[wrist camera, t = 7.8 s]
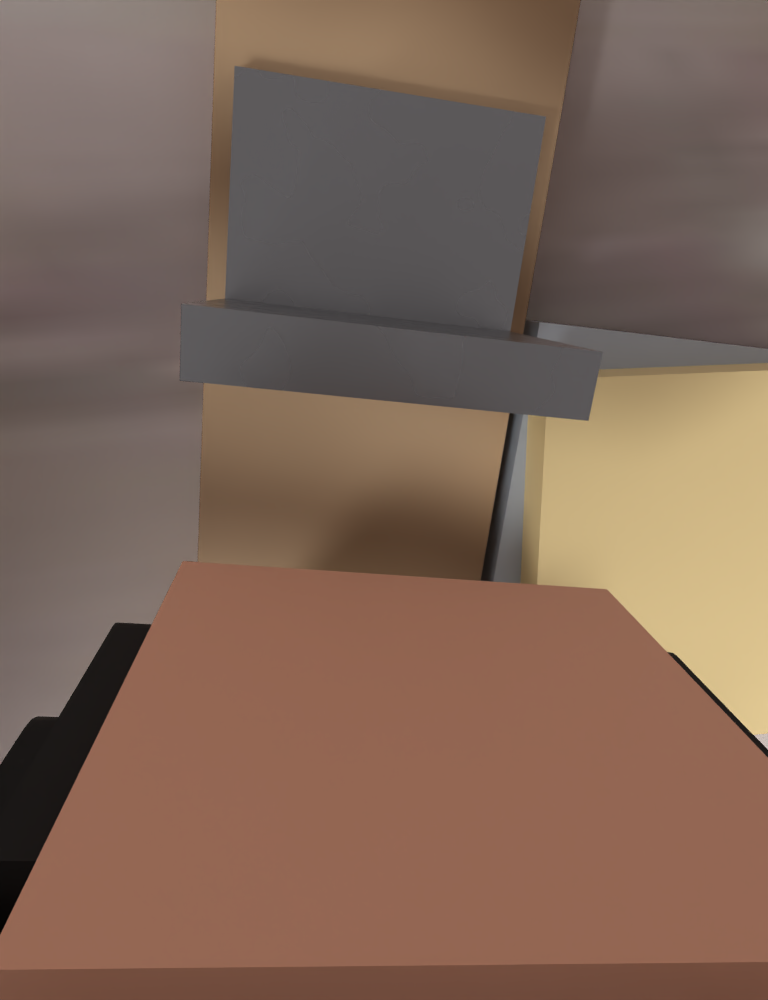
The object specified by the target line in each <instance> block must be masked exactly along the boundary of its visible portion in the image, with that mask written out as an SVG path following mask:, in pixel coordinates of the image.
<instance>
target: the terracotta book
mask: <svg viewBox="0 0 768 1000" xmlns="http://www.w3.org/2000/svg"><path fill="white" fill-rule="evenodd" d="M0 1000H768V757H767V756H766V755H765V754H764V753H763V752H762V751H761V750H760V749H759V748H758V747H757V746H756V745H755V744H754V743H753V742H752V740H751V739H750V738H749V737H748V736H747V735H746V734H745V733H744V732H743V731H742V730H741V729H740V728H739V727H738V726H737V725H736V724H735V723H734V722H733V721H732V720H731V718H730V717H729V716H728V715H727V714H726V713H725V712H724V711H723V710H722V709H721V708H720V707H719V706H718V705H717V704H716V703H715V702H714V701H713V700H712V699H711V698H710V696H709V695H708V694H707V693H706V692H705V691H704V690H703V689H702V688H701V687H700V686H699V685H698V684H697V683H696V682H695V681H694V680H693V679H692V678H691V677H690V676H689V674H688V673H687V672H686V671H685V670H684V669H683V668H682V667H681V666H680V665H679V664H678V663H677V662H676V661H675V660H674V659H673V658H672V657H671V656H670V655H669V654H668V652H667V651H666V650H665V649H664V648H663V647H662V646H661V645H660V644H659V643H658V642H657V641H656V640H655V639H654V638H653V637H652V636H651V635H650V634H649V633H648V632H647V630H646V629H645V628H644V627H643V626H642V625H641V624H640V623H639V622H638V621H637V620H636V619H635V618H634V617H633V616H632V615H631V614H630V613H629V612H628V611H627V610H626V608H625V607H624V606H623V605H622V604H621V603H620V602H619V601H618V600H617V599H616V598H615V597H614V596H613V595H612V594H611V593H610V592H609V591H608V590H607V589H597V588H582V587H567V586H552V585H537V584H522V583H506V582H491V581H476V580H461V579H446V578H431V577H416V576H401V575H386V574H371V573H356V572H340V571H325V570H310V569H295V568H280V567H265V566H250V565H235V564H220V563H205V562H190V561H183V562H182V564H181V566H180V568H179V570H178V572H177V574H176V576H175V578H174V580H173V582H172V584H171V586H170V588H169V590H168V592H167V594H166V596H165V598H164V601H163V603H162V605H161V607H160V609H159V611H158V613H157V615H156V617H155V619H154V621H153V623H152V625H151V627H150V629H149V631H148V633H147V635H146V637H145V639H144V641H143V644H142V646H141V648H140V650H139V652H138V654H137V656H136V658H135V660H134V662H133V664H132V666H131V668H130V670H129V672H128V674H127V676H126V678H125V680H124V682H123V684H122V686H121V689H120V691H119V693H118V695H117V697H116V699H115V701H114V703H113V705H112V707H111V709H110V711H109V713H108V715H107V717H106V719H105V721H104V723H103V725H102V727H101V729H100V732H99V734H98V736H97V738H96V740H95V742H94V744H93V746H92V748H91V750H90V752H89V754H88V756H87V758H86V760H85V762H84V764H83V766H82V768H81V770H80V772H79V775H78V777H77V779H76V781H75V783H74V785H73V787H72V789H71V791H70V793H69V795H68V797H67V799H66V801H65V803H64V805H63V807H62V809H61V811H60V813H59V815H58V818H57V820H56V822H55V824H54V826H53V828H52V830H51V832H50V834H49V836H48V838H47V840H46V842H45V844H44V846H43V848H42V850H41V852H40V854H39V856H38V858H37V861H36V863H35V865H34V867H33V869H32V871H31V873H30V875H29V877H28V879H27V881H26V883H25V885H24V887H23V889H22V891H21V893H20V895H19V897H18V899H17V901H16V904H15V906H14V908H13V910H12V912H11V914H10V916H9V918H8V920H7V922H6V924H5V926H4V928H3V930H2V932H1V934H0Z"/></svg>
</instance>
